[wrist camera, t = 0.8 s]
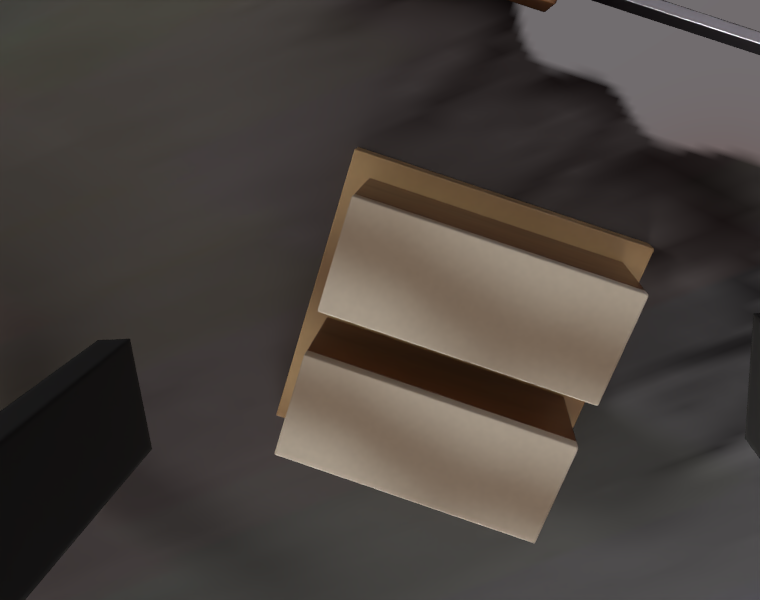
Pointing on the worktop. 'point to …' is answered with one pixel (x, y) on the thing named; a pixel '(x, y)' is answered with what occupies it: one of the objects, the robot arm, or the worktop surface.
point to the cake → (456, 343)
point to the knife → (677, 20)
